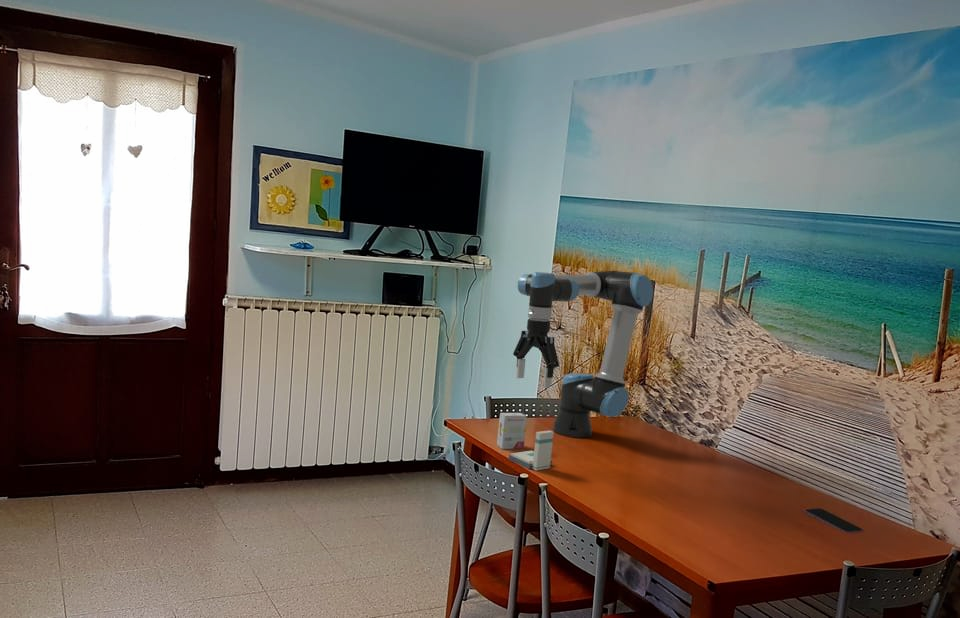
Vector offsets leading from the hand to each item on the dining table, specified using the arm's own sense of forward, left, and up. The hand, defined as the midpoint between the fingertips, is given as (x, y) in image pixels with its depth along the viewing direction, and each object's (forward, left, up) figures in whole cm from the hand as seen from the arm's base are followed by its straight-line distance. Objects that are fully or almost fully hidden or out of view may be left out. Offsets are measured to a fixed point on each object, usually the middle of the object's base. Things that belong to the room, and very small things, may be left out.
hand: (533, 382), depth 234 cm
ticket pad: (+3, +5, -25) cm, 26 cm away
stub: (+4, +12, -25) cm, 28 cm away
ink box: (-2, -11, -26) cm, 28 cm away
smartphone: (-48, +80, -26) cm, 97 cm away
